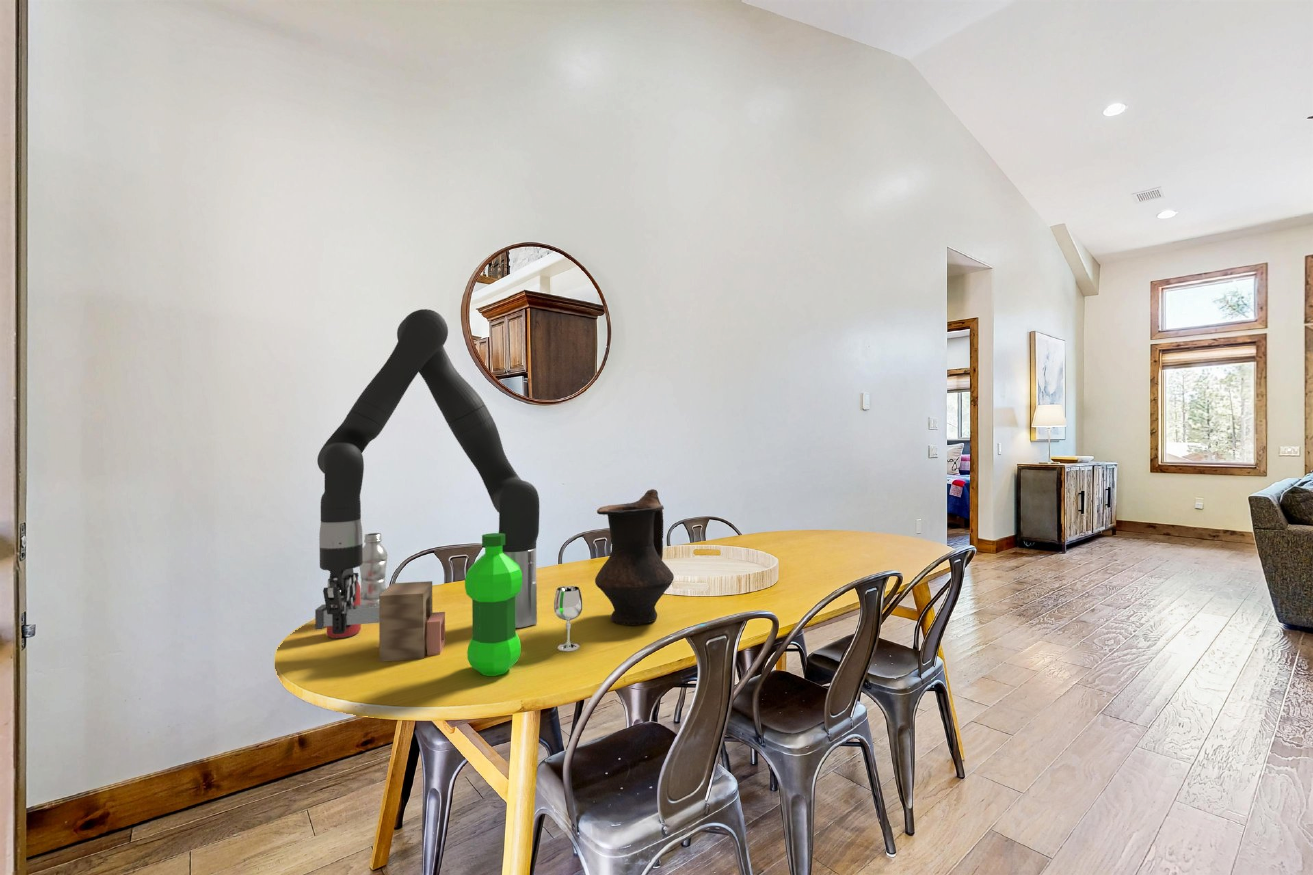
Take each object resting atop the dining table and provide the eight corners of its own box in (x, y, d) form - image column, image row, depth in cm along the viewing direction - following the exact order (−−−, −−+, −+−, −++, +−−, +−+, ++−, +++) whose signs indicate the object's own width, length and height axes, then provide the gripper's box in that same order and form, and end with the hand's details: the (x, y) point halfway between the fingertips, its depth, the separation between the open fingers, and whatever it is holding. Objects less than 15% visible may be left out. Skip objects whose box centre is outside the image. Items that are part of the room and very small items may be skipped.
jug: (648, 638, 125) (647, 497, 125) (578, 624, 134) (578, 494, 134) (692, 612, 143) (691, 489, 143) (628, 602, 153) (627, 487, 153)
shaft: (419, 617, 121) (419, 598, 121) (415, 622, 117) (415, 603, 117) (322, 623, 117) (322, 604, 117) (315, 629, 113) (315, 609, 113)
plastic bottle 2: (500, 655, 115) (499, 528, 115) (534, 668, 109) (533, 534, 109) (454, 671, 108) (453, 535, 108) (487, 686, 101) (487, 541, 101)
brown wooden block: (432, 641, 124) (432, 581, 124) (423, 658, 114) (423, 593, 114) (392, 643, 122) (391, 583, 122) (379, 661, 113) (379, 595, 113)
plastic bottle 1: (369, 622, 137) (368, 537, 137) (352, 618, 140) (352, 534, 140) (394, 615, 142) (393, 533, 142) (377, 611, 146) (377, 531, 146)
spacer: (445, 643, 123) (444, 611, 123) (440, 654, 116) (439, 621, 116) (433, 644, 122) (432, 612, 122) (427, 655, 116) (427, 622, 116)
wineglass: (559, 654, 116) (559, 593, 116) (550, 645, 121) (550, 587, 121) (586, 649, 119) (586, 590, 119) (577, 640, 124) (576, 583, 124)
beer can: (346, 640, 125) (345, 584, 125) (319, 638, 126) (319, 582, 126) (367, 630, 131) (366, 576, 131) (341, 628, 133) (341, 575, 133)
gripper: (350, 548, 110) (351, 640, 110) (371, 536, 124) (372, 618, 124) (306, 550, 108) (307, 644, 108) (332, 538, 122) (333, 620, 122)
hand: (342, 629), depth 116 cm, fingers closed on shaft, 3 cm apart
